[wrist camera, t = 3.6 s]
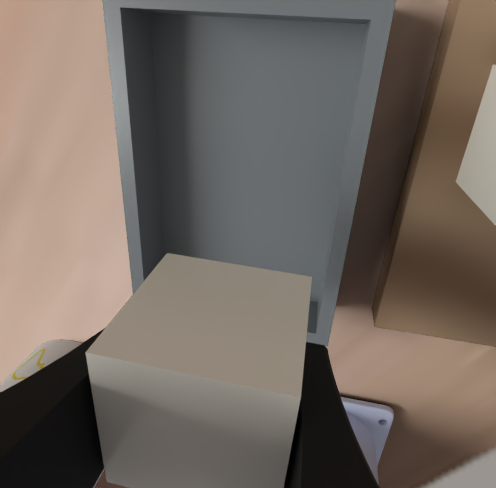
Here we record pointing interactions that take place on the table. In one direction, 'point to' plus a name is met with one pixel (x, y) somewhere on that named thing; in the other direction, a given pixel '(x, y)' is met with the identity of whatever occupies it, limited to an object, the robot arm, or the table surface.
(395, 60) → the table surface
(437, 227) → the brown flat slab
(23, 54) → the table surface
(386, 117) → the table surface
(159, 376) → the cream matte cube
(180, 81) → the bin
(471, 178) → the off-white stacked cube
